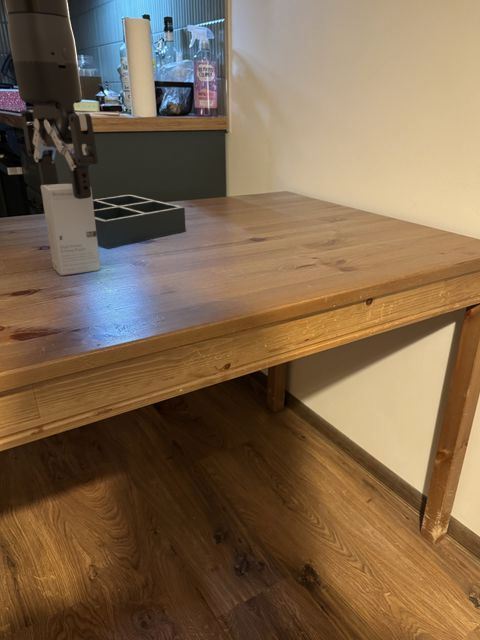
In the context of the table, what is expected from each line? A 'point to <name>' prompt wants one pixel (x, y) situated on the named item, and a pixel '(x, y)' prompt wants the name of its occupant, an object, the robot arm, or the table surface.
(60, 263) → the cosmetic box
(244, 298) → the table surface
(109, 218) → the grid
